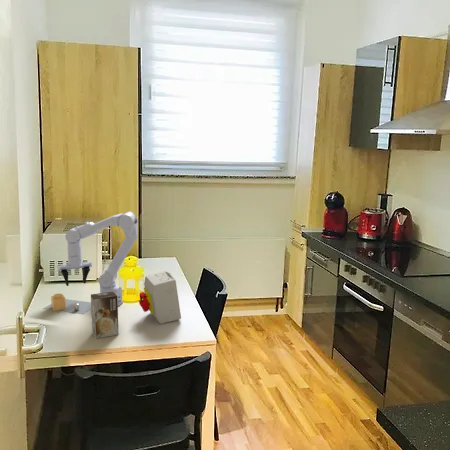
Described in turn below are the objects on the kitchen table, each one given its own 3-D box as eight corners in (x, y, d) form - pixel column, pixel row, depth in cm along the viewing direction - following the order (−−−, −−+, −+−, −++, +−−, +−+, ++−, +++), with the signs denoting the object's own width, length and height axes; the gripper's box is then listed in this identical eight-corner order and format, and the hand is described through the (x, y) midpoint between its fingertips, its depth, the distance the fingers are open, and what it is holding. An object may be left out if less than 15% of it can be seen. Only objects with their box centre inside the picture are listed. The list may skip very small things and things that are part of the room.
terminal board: (100, 306, 223) (100, 303, 223) (83, 317, 210) (83, 314, 210) (61, 301, 228) (61, 298, 228) (42, 312, 215) (42, 308, 215)
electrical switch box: (139, 318, 216) (131, 275, 211) (171, 309, 221) (165, 267, 216) (147, 331, 203) (139, 286, 198) (181, 321, 208) (175, 277, 203)
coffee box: (114, 329, 199) (113, 290, 196) (119, 334, 194) (118, 295, 190) (91, 332, 195) (90, 294, 192) (95, 339, 189) (94, 299, 186)
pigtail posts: (80, 309, 215) (79, 303, 214) (77, 311, 213) (77, 304, 212) (57, 307, 217) (57, 300, 217) (55, 308, 216) (54, 302, 215)
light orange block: (63, 305, 220) (62, 292, 218) (65, 308, 215) (65, 295, 214) (51, 307, 217) (50, 294, 216) (53, 310, 213) (53, 297, 212)
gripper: (88, 251, 229) (89, 279, 232) (55, 254, 222) (57, 283, 224) (92, 254, 223) (93, 283, 226) (59, 258, 216) (60, 288, 218)
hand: (75, 284), depth 225 cm, fingers open, 7 cm apart
